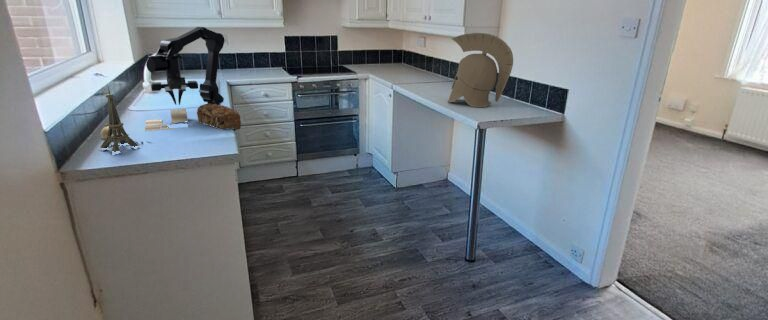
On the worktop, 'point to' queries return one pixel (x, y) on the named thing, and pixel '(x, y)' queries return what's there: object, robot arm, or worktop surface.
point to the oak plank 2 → (179, 115)
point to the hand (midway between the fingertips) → (177, 104)
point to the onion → (105, 131)
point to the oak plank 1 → (153, 122)
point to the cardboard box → (157, 127)
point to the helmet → (481, 69)
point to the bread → (218, 116)
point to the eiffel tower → (113, 125)
